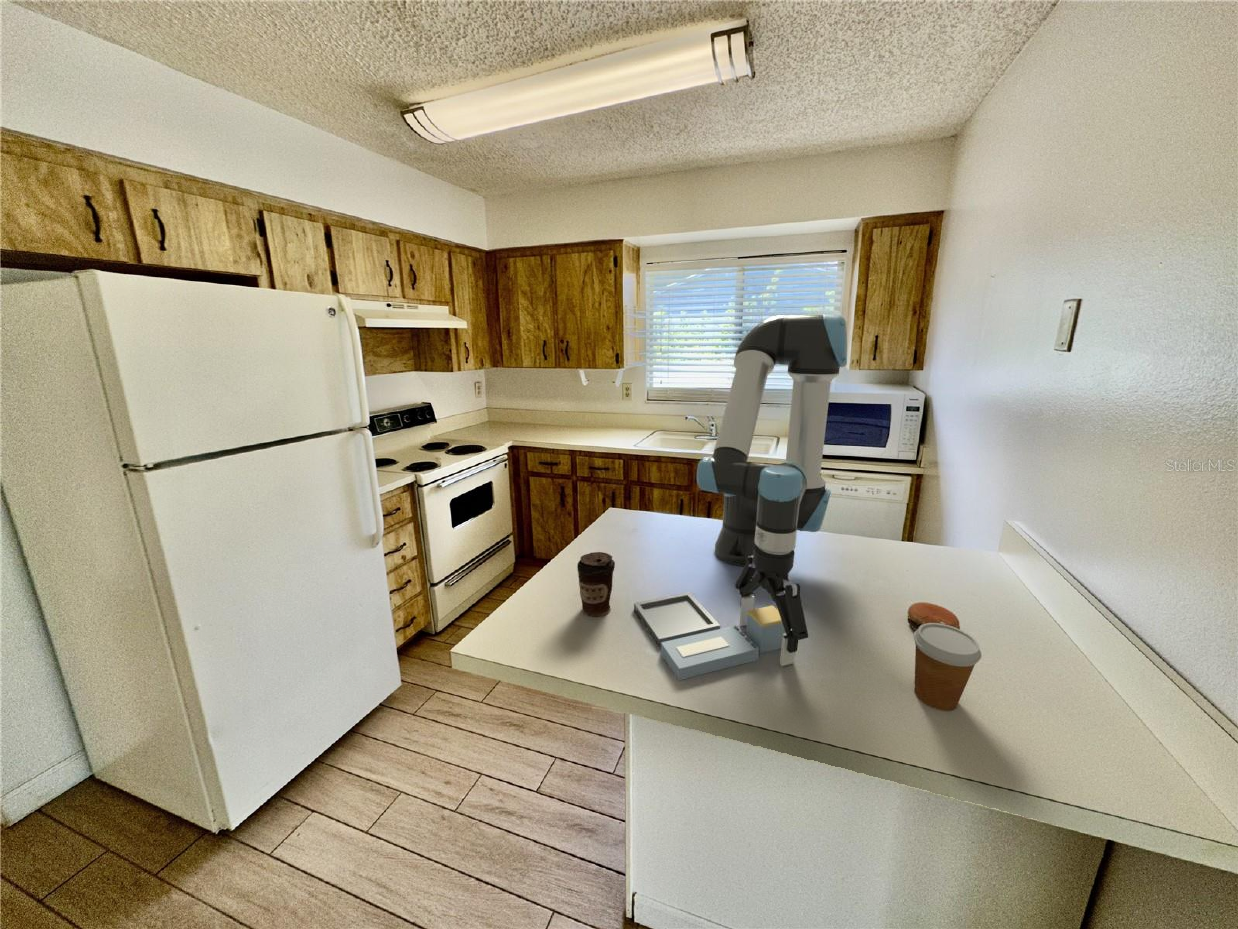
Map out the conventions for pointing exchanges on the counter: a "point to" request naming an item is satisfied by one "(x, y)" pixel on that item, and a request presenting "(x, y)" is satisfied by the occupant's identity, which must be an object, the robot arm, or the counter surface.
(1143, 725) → the counter surface
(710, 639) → the blue labeled box
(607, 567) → the coffee cup
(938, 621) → the burger
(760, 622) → the yellow topped blue block
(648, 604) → the tray
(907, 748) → the counter surface
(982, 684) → the counter surface
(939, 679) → the disposable coffee cup
